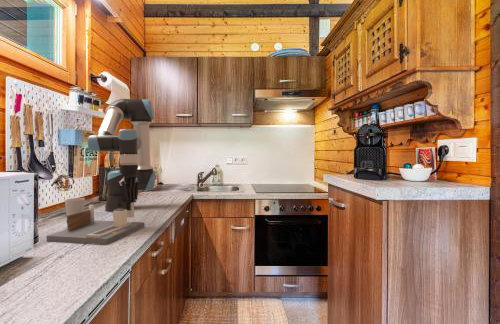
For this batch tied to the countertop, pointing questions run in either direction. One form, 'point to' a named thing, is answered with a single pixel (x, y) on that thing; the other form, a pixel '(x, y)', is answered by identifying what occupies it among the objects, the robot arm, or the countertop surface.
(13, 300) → the countertop surface
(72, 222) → the door
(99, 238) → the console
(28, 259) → the countertop surface
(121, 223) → the fader knob
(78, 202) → the cup
